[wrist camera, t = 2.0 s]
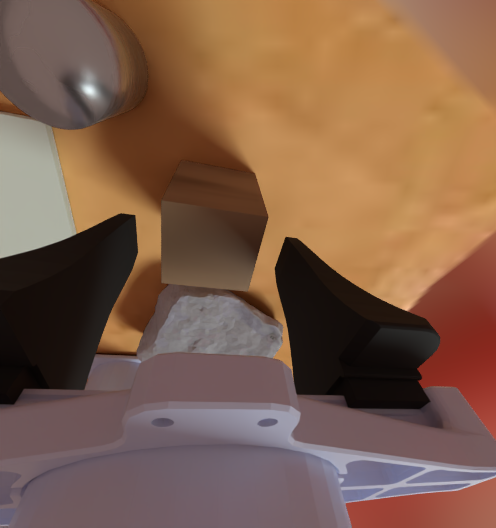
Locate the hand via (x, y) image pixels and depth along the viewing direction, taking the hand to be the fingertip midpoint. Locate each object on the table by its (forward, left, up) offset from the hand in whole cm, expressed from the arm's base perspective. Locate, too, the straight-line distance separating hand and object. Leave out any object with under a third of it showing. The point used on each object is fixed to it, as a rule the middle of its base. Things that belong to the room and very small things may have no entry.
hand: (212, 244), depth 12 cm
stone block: (-12, -2, -6) cm, 14 cm away
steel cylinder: (+6, +6, -5) cm, 10 cm away
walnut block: (0, 0, -5) cm, 5 cm away
